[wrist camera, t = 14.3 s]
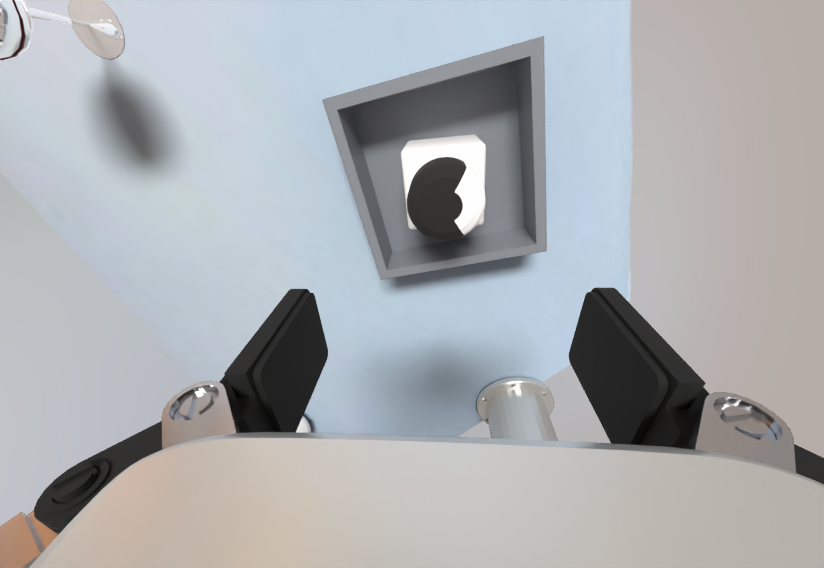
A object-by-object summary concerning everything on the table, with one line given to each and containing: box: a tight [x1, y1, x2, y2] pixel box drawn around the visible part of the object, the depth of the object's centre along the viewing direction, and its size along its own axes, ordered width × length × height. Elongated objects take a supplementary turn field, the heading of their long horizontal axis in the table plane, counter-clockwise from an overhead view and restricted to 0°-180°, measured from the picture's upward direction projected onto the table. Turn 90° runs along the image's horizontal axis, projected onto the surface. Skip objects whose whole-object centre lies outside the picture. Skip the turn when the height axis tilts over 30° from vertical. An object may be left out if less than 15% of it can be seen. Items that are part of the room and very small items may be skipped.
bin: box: [322, 36, 547, 280], centre depth 32 cm, size 18×18×6 cm
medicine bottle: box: [401, 135, 486, 240], centre depth 28 cm, size 7×7×12 cm
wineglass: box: [0, 0, 124, 60], centre depth 24 cm, size 7×7×12 cm
